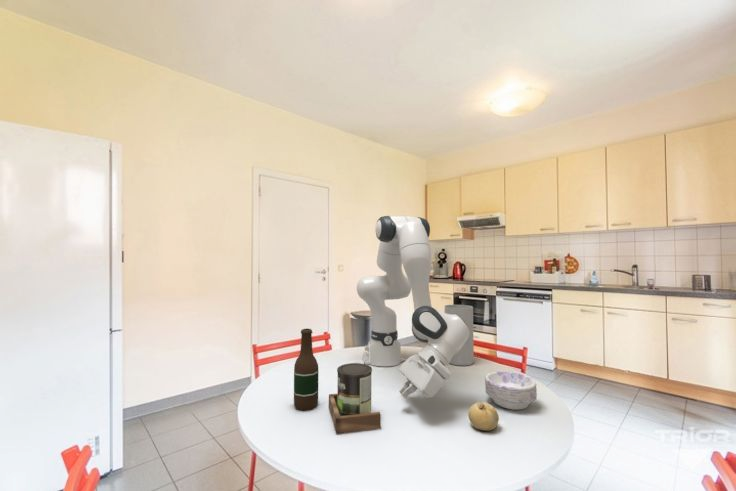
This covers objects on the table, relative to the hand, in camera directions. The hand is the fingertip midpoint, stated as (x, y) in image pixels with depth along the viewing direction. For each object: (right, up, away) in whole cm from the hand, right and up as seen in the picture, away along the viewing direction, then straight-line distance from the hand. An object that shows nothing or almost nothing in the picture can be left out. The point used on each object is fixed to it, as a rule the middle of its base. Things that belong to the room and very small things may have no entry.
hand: (402, 395), depth 100 cm
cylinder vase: (+31, -7, +48) cm, 58 cm away
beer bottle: (-30, -5, +4) cm, 31 cm away
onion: (+22, -5, -9) cm, 24 cm away
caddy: (-15, -5, -4) cm, 16 cm away
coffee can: (-14, -5, -4) cm, 16 cm away
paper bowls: (+35, -5, +5) cm, 36 cm away
